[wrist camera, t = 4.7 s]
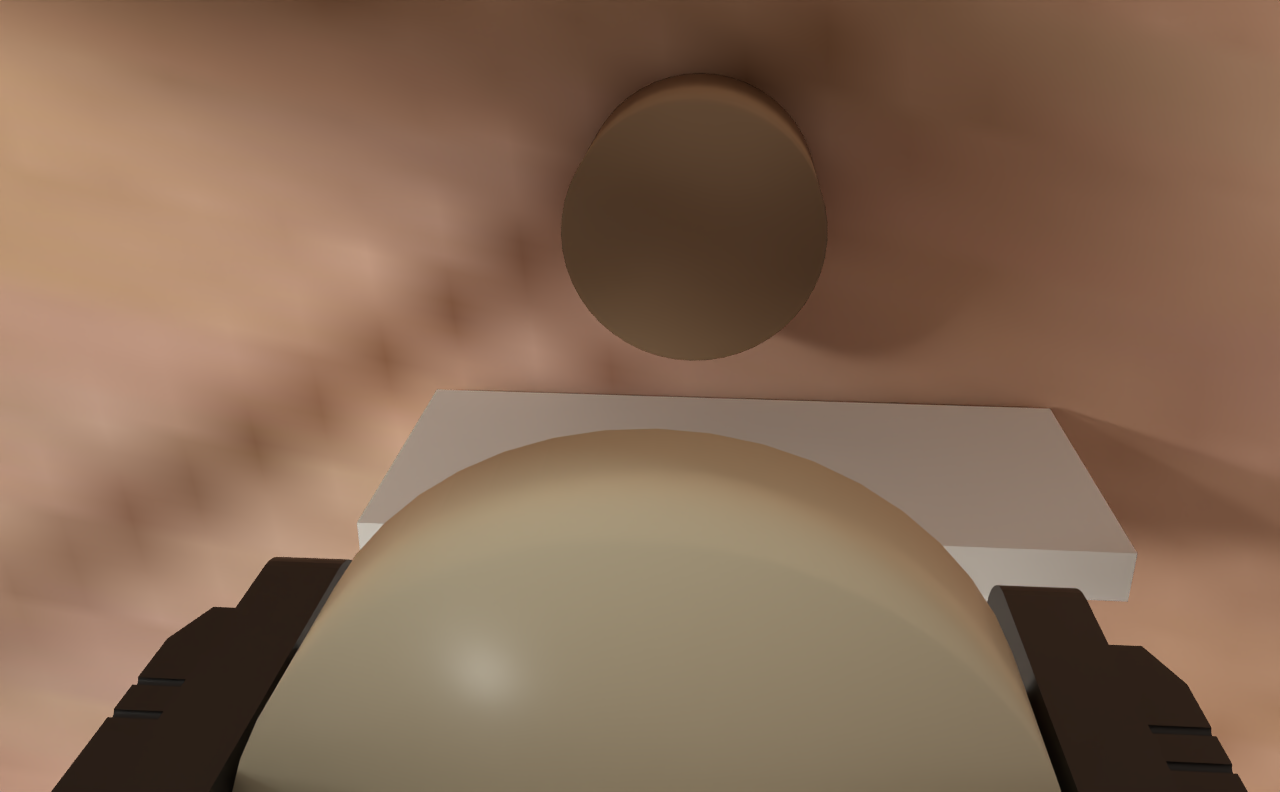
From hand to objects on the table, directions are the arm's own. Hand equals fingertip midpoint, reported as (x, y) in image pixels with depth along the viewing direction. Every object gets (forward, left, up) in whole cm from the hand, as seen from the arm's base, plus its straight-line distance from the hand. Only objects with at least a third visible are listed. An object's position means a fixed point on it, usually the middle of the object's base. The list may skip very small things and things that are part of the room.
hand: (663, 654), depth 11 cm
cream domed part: (0, 0, +1) cm, 1 cm away
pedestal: (-1, 0, -16) cm, 16 cm away
